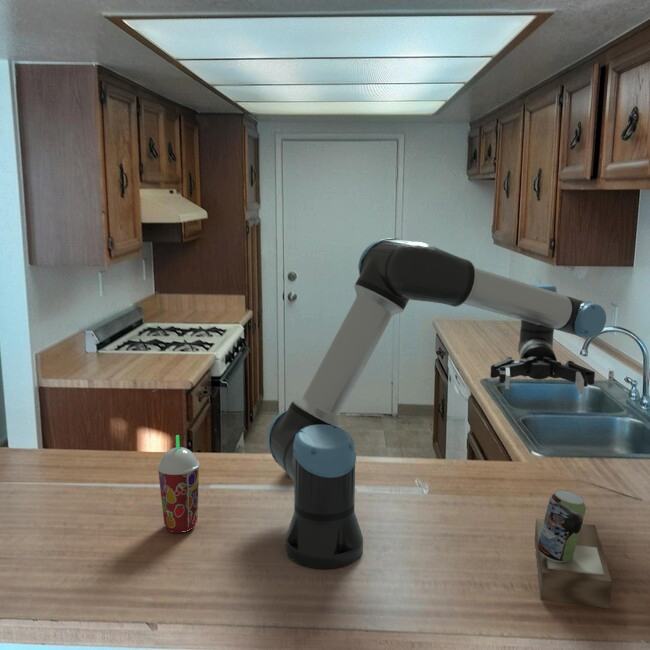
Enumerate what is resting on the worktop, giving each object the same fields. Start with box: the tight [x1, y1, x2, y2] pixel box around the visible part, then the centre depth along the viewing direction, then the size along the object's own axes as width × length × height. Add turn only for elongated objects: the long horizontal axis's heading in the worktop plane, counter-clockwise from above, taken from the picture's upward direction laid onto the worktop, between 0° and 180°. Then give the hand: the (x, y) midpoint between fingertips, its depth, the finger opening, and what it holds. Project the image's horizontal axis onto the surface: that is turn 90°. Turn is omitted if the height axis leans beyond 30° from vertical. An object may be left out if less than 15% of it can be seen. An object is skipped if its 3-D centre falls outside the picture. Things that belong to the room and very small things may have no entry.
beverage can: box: [538, 489, 587, 562], centre depth 117 cm, size 6×7×12 cm
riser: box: [534, 518, 613, 609], centre depth 122 cm, size 11×20×5 cm, turn 166°
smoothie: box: [157, 434, 200, 533], centre depth 138 cm, size 8×8×20 cm
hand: (544, 384), depth 129 cm, fingers open, 13 cm apart
